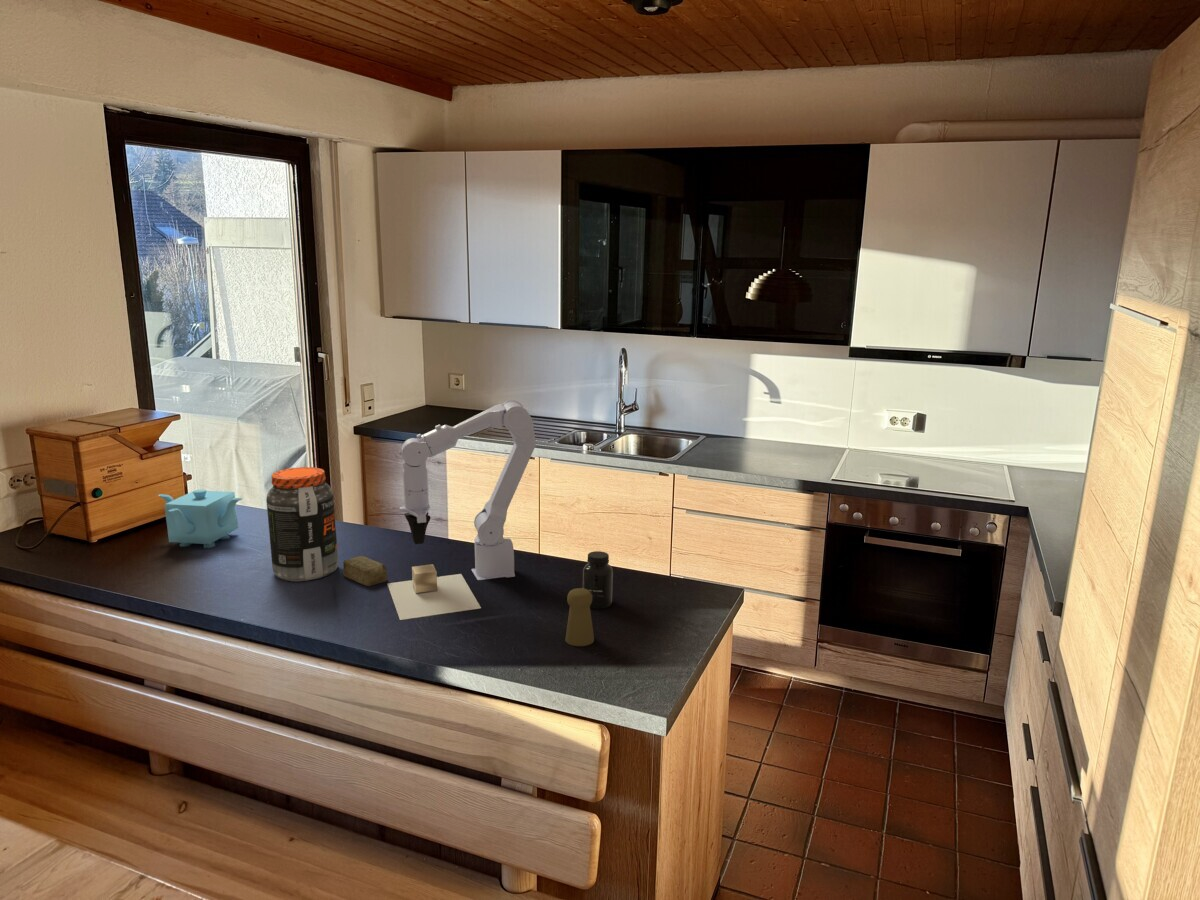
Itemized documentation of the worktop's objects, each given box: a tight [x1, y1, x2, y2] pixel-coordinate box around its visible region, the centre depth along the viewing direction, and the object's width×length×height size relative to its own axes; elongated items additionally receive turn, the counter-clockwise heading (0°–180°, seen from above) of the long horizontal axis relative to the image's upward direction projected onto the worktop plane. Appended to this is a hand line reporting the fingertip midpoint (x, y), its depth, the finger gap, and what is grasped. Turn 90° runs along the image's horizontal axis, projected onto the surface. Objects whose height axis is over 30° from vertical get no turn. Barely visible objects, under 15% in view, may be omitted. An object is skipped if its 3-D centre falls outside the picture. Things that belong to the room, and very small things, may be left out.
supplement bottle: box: [582, 550, 614, 610], centre depth 193 cm, size 7×7×12 cm
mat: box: [387, 573, 482, 621], centre depth 197 cm, size 18×22×1 cm
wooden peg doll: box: [565, 587, 595, 647], centre depth 175 cm, size 6×6×11 cm
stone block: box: [342, 555, 388, 587], centre depth 207 cm, size 6×12×5 cm, turn 50°
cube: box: [411, 564, 438, 594], centre depth 200 cm, size 5×5×5 cm
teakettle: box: [158, 488, 244, 549], centre depth 232 cm, size 19×19×15 cm
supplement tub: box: [265, 466, 339, 582], centre depth 209 cm, size 16×16×26 cm
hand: (418, 542), depth 205 cm, fingers closed
